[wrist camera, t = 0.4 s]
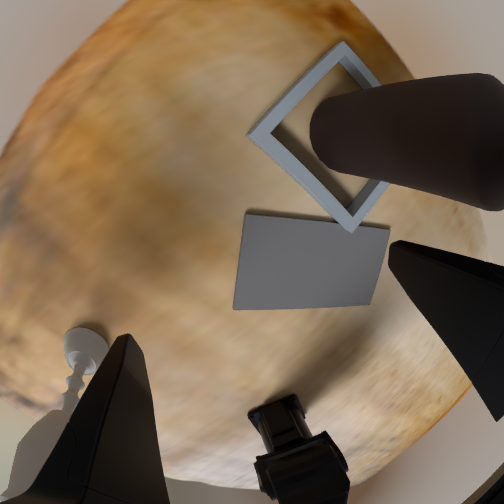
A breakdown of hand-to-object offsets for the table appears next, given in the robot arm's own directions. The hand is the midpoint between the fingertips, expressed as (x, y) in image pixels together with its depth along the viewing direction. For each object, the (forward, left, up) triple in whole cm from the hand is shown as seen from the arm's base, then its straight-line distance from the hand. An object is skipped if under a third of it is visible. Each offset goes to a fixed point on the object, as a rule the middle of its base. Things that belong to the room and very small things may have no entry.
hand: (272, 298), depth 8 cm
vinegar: (+2, -12, -14) cm, 19 cm away
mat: (-8, -7, -14) cm, 18 cm away
